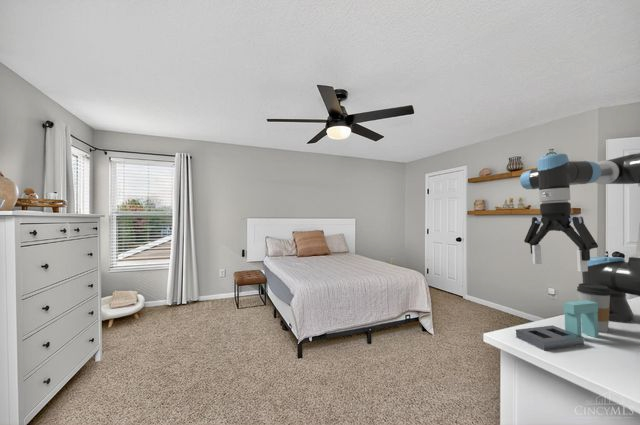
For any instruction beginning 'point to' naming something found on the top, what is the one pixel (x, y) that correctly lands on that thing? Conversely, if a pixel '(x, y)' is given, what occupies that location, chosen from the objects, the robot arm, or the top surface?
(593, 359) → the top surface
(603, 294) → the coffee cup
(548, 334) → the grey slotted slab
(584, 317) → the teal u-shaped block
